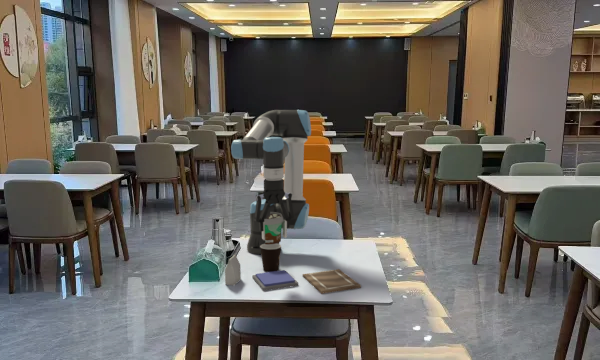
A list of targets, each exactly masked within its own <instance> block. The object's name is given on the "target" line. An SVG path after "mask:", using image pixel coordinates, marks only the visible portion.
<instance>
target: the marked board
mask: <svg viewBox="0 0 600 360" xmlns="http://www.w3.org/2000/svg"><path fill="white" fill-rule="evenodd" d="M302 277H303V279H305V281H307V282H308V283H309V284H310V285H311V286H312V287H313V286H314V287H313V288H314V289H316V291H318V292H319V293H320V294H321V295H322V294H329V293H335V292H343V291H348V290H356V289H361V288H362V285H361V284H360V283H359V282H357V281H356V280H355V279H353V278H352V277H350V276H349V274H347V273H345V272H344V271H342V270H341V269H340V268H338V269H331V270H322V271H317V272H316V271H315V272H308V273H302Z"/></svg>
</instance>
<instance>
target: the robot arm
mask: <svg viewBox="0 0 600 360" xmlns="http://www.w3.org/2000/svg"><path fill="white" fill-rule="evenodd" d="M311 135H312V125H311V117H310V114H309V112H308V111H307V110H306V109H305V110H303V109H274V110H273V109H272V110H269V111H266V112H265V113H263V114H260V115H259V116H258V117H257V118H256V119H255V120H254V122H253V124H252V127H251V128H250V130H249V131H248V132H247V133H246V135H244V137H243V138H242V139H234V140H232V143H231V146H230V150H231V151H230V153H231V156H232V158H233V159H235V160H236V159H238V160H263V178H264V179H263V192H262V194H256V195H255V201H253V202H252V203H250V205H249V206H250V209H249V215H250V216H249V217H250V218H249V221H250V222H249V223H250V235H249V237H248V241H247V244H246V250H247V252H249V253H251V254H255V255H261V249H260V246H261V245H262V244H265V225H264V219H267V217H268V216H270V212H277V213H280V214H282V216H283V219H284V221H283V222H282V237H284V238H285V239H287V237H288V234H287V233H288V230H303V229H305V227H307V226H306V225H307V223H308V219H309V213H310V204H309V203H307V199H306V198H305V197H304V196H303V195H304V193H303V192H304V191H303V189H304V159H305V157H304V155H305V153H304V152H305V143H306V142H308V137H311ZM280 136H281V137H280ZM283 178H284V179H283ZM276 244H280V242H279V243H276Z"/></svg>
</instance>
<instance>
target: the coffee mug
mask: <svg viewBox="0 0 600 360" xmlns="http://www.w3.org/2000/svg"><path fill="white" fill-rule="evenodd" d="M260 249H261V254H260V255H261V261H262V270H263V271H264V273H266V272H274V271H280V269H279V268H280V262H281V253H282V252H281V251H282V245H281V244H280V243H279V244H269V245H265V244H262V245H261V246H260Z"/></svg>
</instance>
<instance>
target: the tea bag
mask: <svg viewBox="0 0 600 360" xmlns="http://www.w3.org/2000/svg"><path fill="white" fill-rule="evenodd" d="M227 261H228V262H227V265H226V267H225V269H224V277H225V278H224V280H225V281H224V282H225V285H228V286H236V285H237V284H238V283H239V282H240V281H241V280H242V279H241V277H242V275H241V273H242V272H241V263H240V261H239V259H238V257H237V254H234V255H233V256H232V257H230V258H228V260H227Z"/></svg>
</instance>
